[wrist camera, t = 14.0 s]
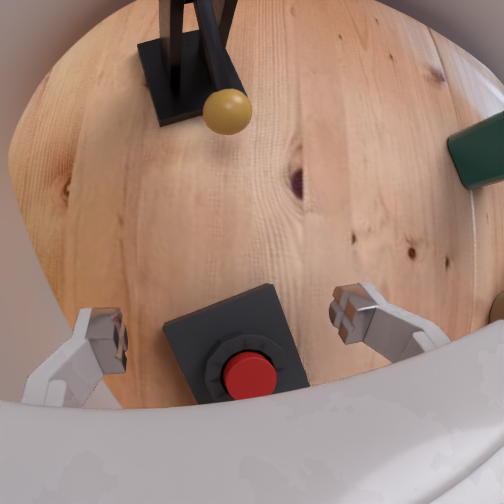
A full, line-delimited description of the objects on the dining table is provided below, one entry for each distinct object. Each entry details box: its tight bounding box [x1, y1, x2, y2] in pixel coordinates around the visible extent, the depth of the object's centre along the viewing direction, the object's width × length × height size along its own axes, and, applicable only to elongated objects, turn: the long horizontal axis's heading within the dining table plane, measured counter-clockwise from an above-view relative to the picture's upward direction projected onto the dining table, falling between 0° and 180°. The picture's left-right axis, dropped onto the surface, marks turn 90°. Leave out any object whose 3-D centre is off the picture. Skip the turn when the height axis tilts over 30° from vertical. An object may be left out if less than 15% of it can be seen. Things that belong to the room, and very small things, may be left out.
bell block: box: [163, 283, 310, 405], centre depth 25 cm, size 12×10×4 cm
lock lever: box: [184, 0, 252, 135], centre depth 18 cm, size 14×4×4 cm, turn 21°
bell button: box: [223, 352, 277, 400], centre depth 23 cm, size 4×4×2 cm
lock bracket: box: [137, 0, 248, 127], centre depth 20 cm, size 11×9×15 cm
